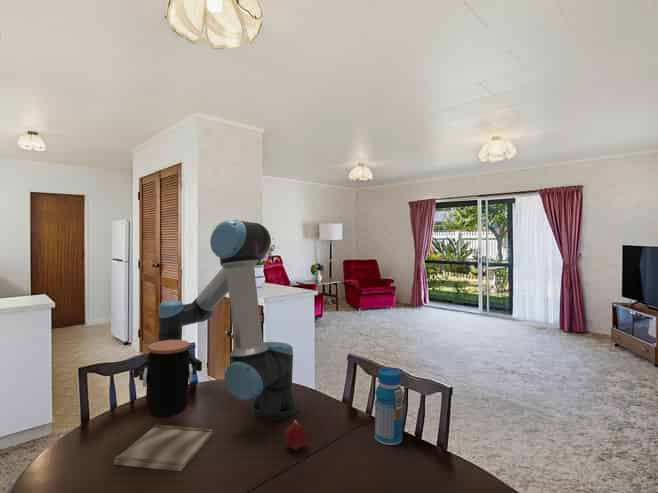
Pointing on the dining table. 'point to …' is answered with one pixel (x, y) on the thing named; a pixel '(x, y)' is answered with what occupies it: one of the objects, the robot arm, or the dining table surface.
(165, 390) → the coffee jar
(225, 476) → the dining table surface
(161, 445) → the board
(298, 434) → the onion
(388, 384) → the beverage bottle
